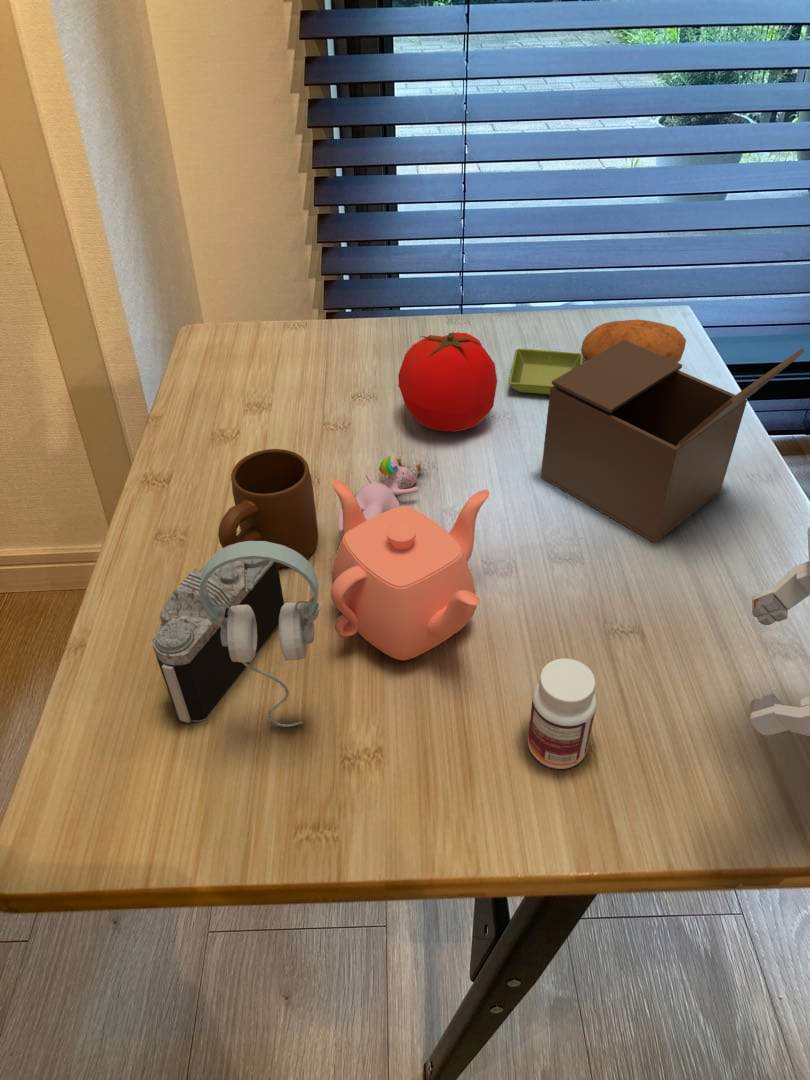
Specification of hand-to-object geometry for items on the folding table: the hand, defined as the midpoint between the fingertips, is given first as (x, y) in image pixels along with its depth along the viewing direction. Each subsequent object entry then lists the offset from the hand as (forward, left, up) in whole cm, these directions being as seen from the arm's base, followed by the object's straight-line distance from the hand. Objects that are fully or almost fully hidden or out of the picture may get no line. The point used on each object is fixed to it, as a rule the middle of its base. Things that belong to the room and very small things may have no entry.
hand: (755, 662), depth 55 cm
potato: (+53, -30, -14) cm, 62 cm away
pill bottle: (+8, +9, -14) cm, 18 cm away
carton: (+33, -16, -14) cm, 39 cm away
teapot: (+26, +13, -14) cm, 32 cm away
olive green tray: (+55, -19, -14) cm, 60 cm away
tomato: (+53, -4, -14) cm, 55 cm away
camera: (+29, +31, -14) cm, 44 cm away
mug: (+39, +23, -14) cm, 47 cm away
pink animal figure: (+41, +10, -14) cm, 44 cm away
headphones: (+19, +28, -14) cm, 36 cm away
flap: (+24, -19, +2) cm, 31 cm away
